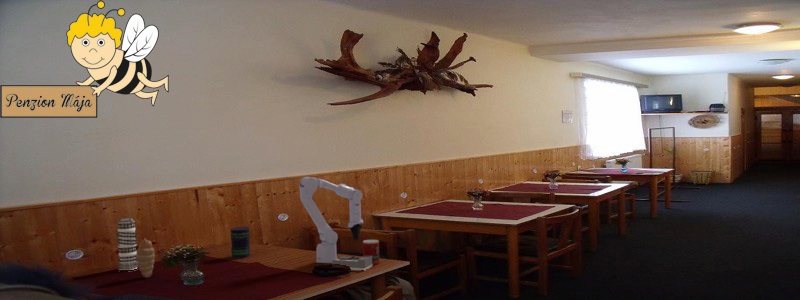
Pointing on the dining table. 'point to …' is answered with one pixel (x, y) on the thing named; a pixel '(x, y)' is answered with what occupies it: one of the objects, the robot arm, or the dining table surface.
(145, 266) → the tan ridged cocoon
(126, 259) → the decorative candle
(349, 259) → the plunger
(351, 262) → the gauge housing
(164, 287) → the dining table surface
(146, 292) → the dining table surface
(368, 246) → the canned food
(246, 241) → the storage jar
